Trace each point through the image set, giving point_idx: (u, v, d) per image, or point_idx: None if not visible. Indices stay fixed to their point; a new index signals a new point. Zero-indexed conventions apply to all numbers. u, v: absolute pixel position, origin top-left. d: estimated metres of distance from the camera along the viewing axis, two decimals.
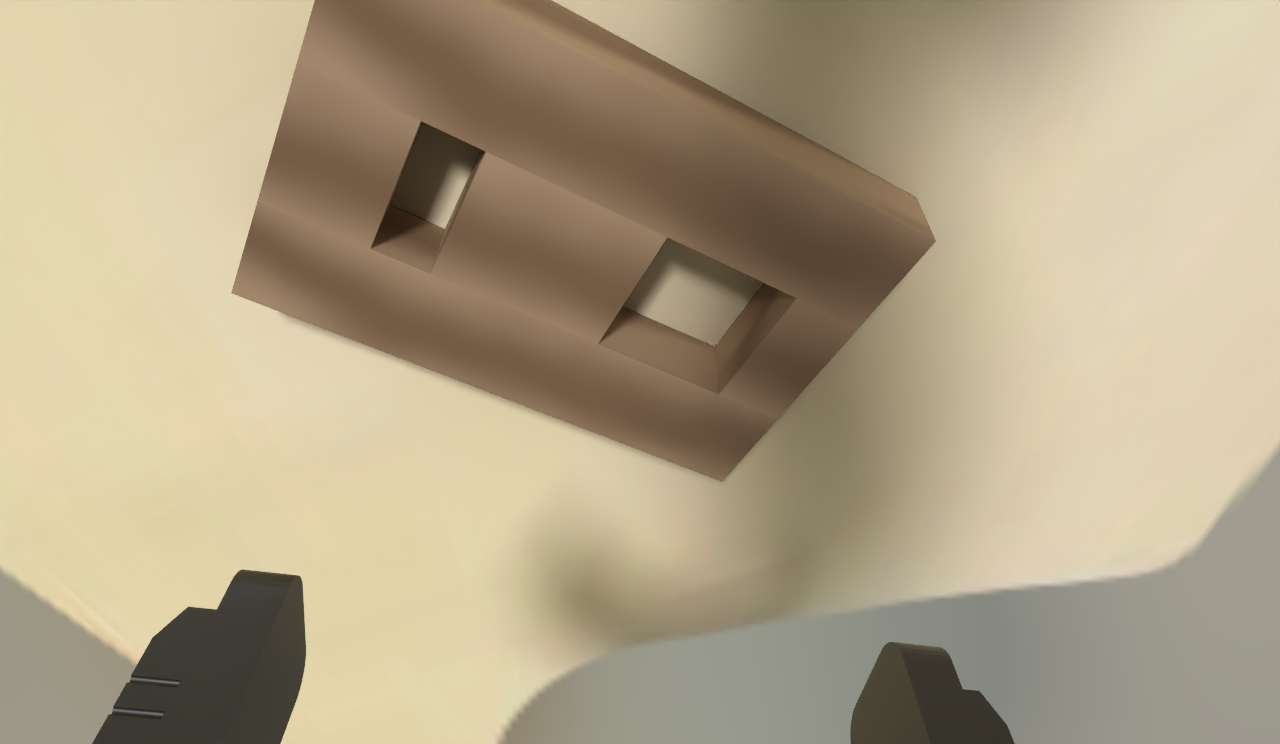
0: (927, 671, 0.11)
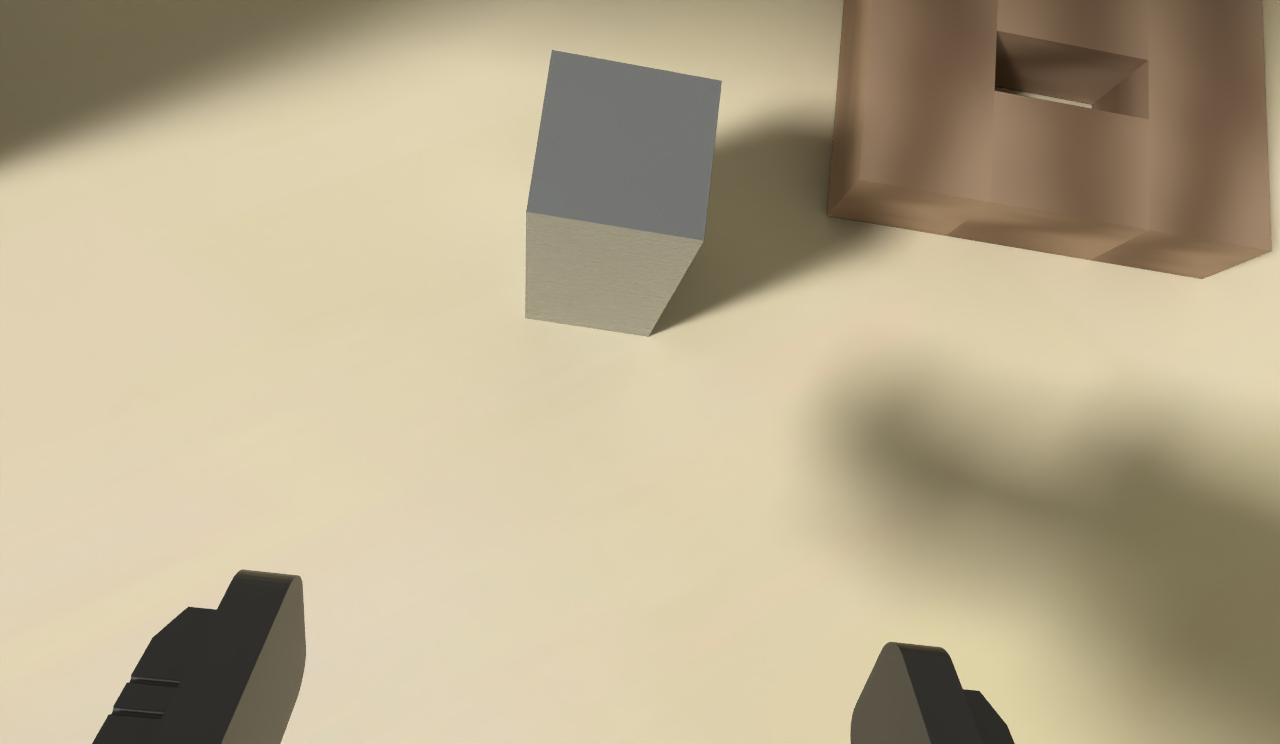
0: (927, 671, 0.11)
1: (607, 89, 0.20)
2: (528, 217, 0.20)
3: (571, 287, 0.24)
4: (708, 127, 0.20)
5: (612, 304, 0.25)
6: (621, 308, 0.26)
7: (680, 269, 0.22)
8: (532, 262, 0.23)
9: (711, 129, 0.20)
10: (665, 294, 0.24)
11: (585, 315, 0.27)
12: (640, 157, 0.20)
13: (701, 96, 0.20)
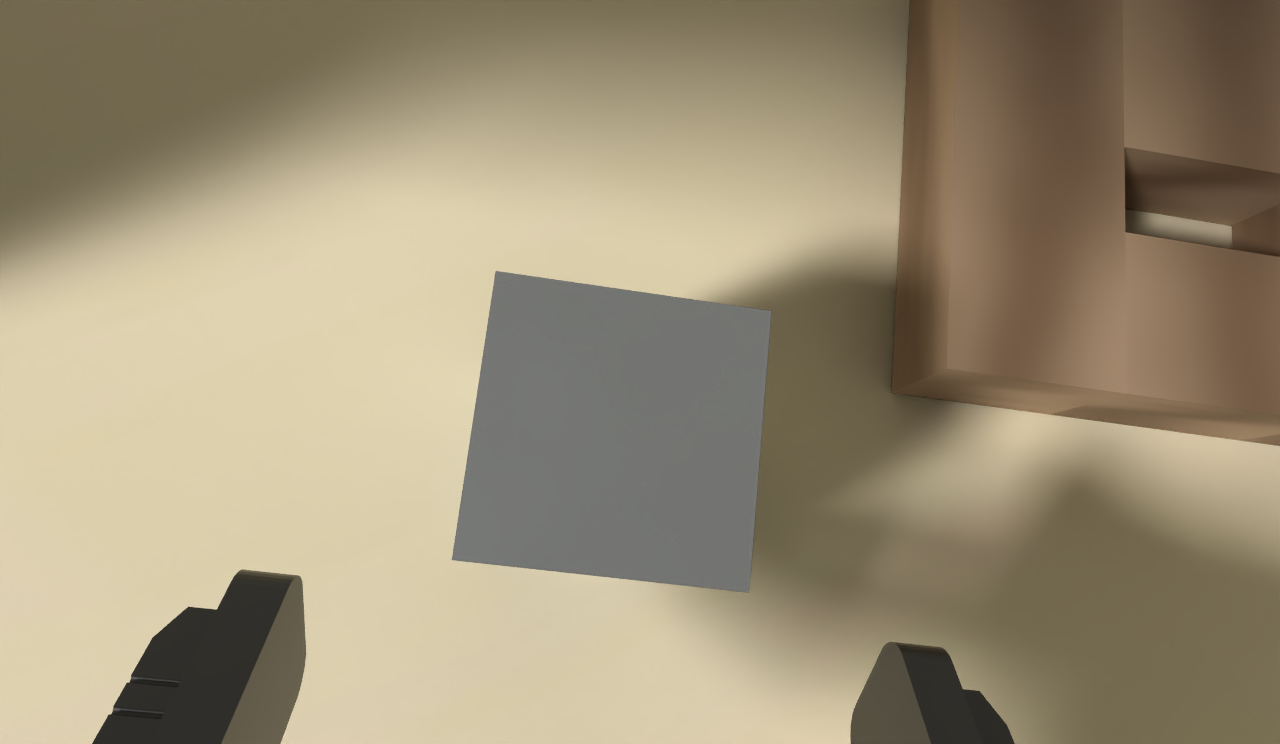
0: (927, 671, 0.11)
1: (587, 334, 0.12)
2: None
3: None
4: (752, 392, 0.13)
5: None
6: None
7: None
8: None
9: (757, 396, 0.12)
10: None
11: None
12: (642, 451, 0.12)
13: (739, 339, 0.13)
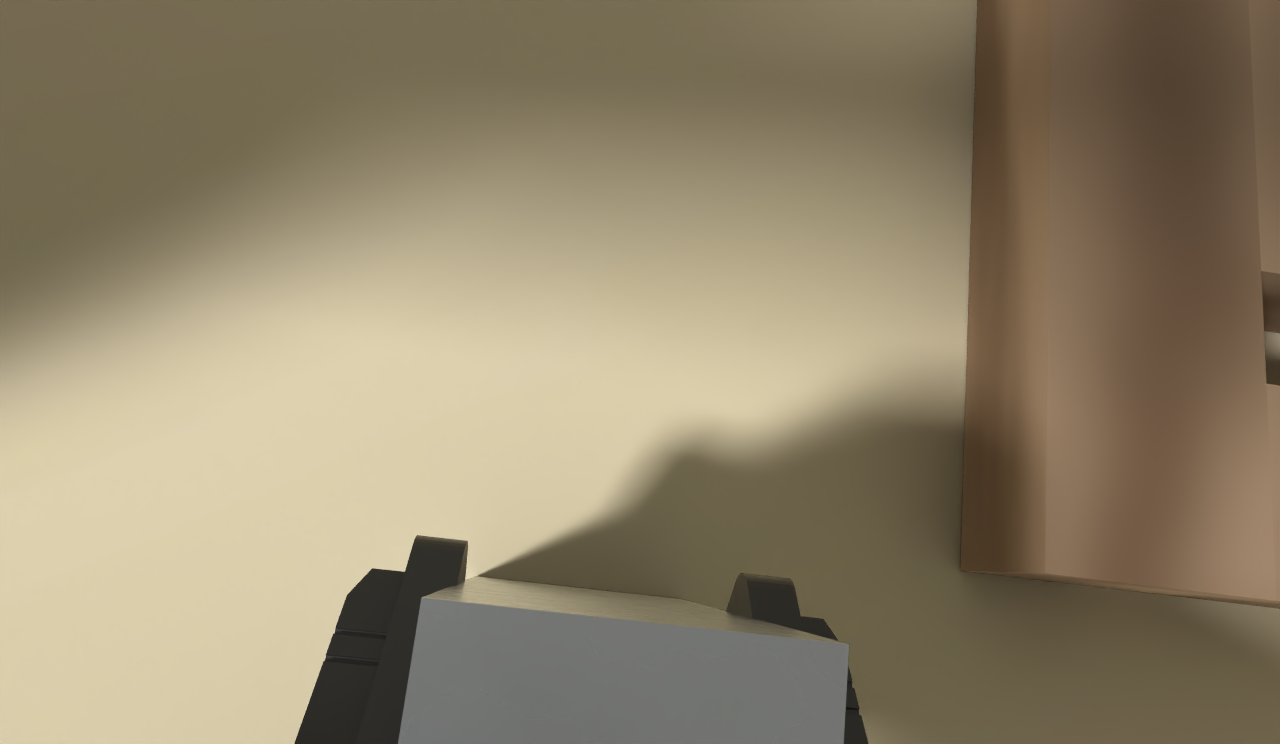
0: (768, 598, 0.12)
1: (564, 698, 0.08)
2: None
3: None
4: None
5: None
6: None
7: None
8: None
9: None
10: None
11: None
12: None
13: (801, 693, 0.08)
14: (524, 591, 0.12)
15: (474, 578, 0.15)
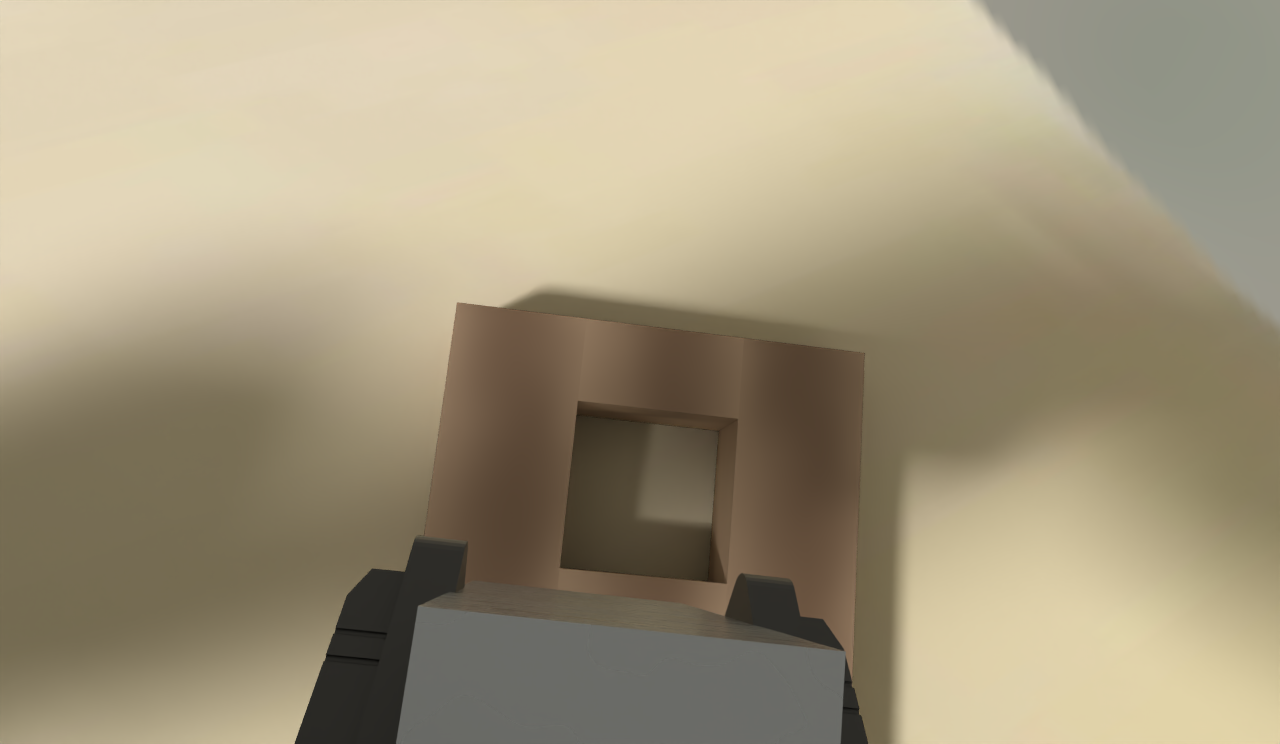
0: (768, 597, 0.12)
1: (561, 706, 0.08)
2: None
3: None
4: None
5: None
6: None
7: None
8: None
9: None
10: None
11: None
12: None
13: (798, 701, 0.08)
14: (522, 597, 0.12)
15: (472, 582, 0.15)
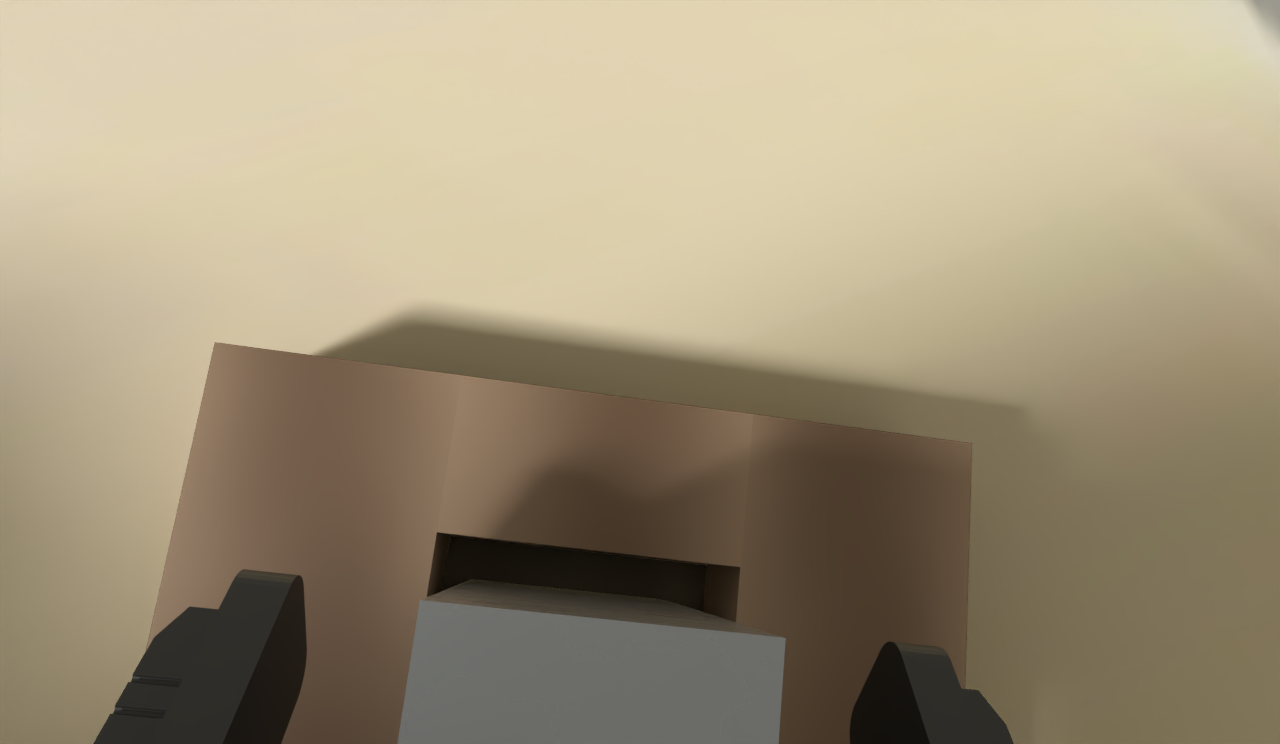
0: (926, 670, 0.11)
1: (541, 685, 0.09)
2: None
3: None
4: None
5: None
6: None
7: None
8: None
9: None
10: None
11: None
12: None
13: (744, 680, 0.10)
14: (512, 593, 0.13)
15: (469, 581, 0.17)
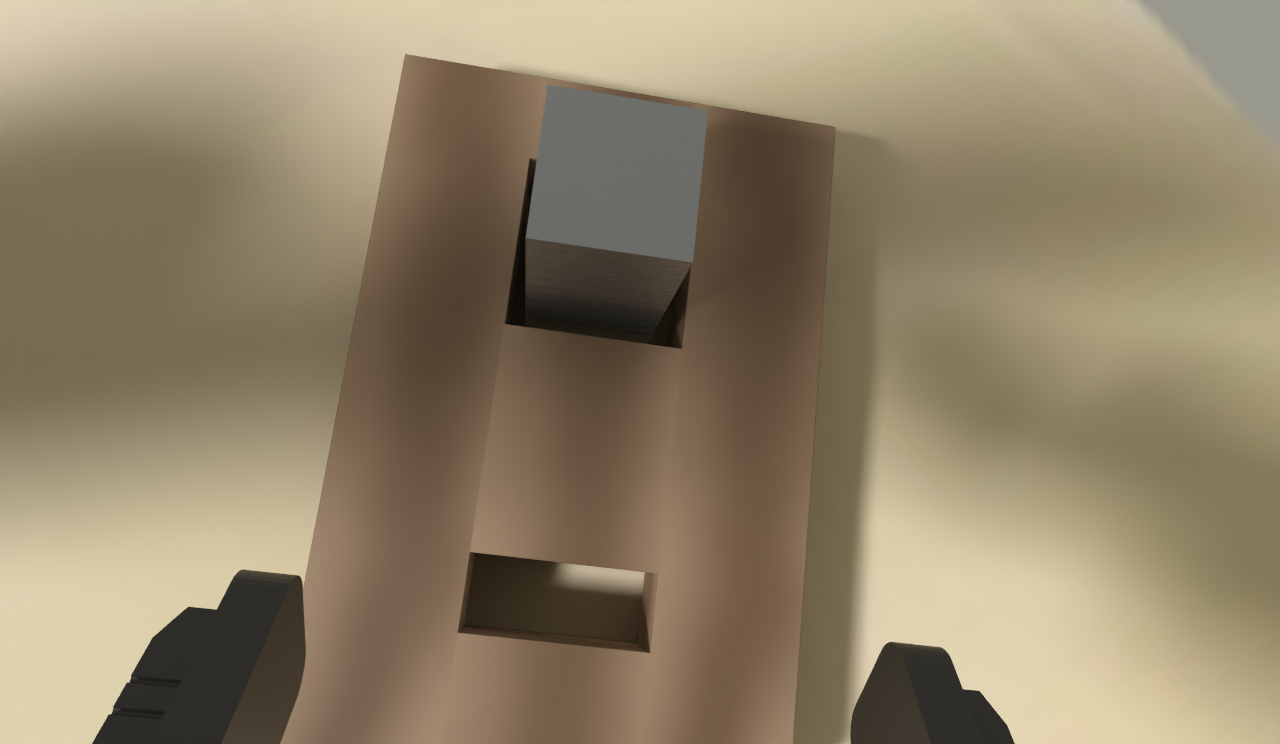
0: (927, 671, 0.11)
1: (600, 120, 0.21)
2: (527, 242, 0.21)
3: (568, 304, 0.26)
4: (696, 155, 0.22)
5: (608, 320, 0.27)
6: (617, 323, 0.27)
7: (671, 288, 0.23)
8: (531, 282, 0.24)
9: (698, 157, 0.22)
10: (658, 310, 0.25)
11: (582, 329, 0.28)
12: (632, 185, 0.21)
13: (689, 125, 0.22)
14: None
15: None
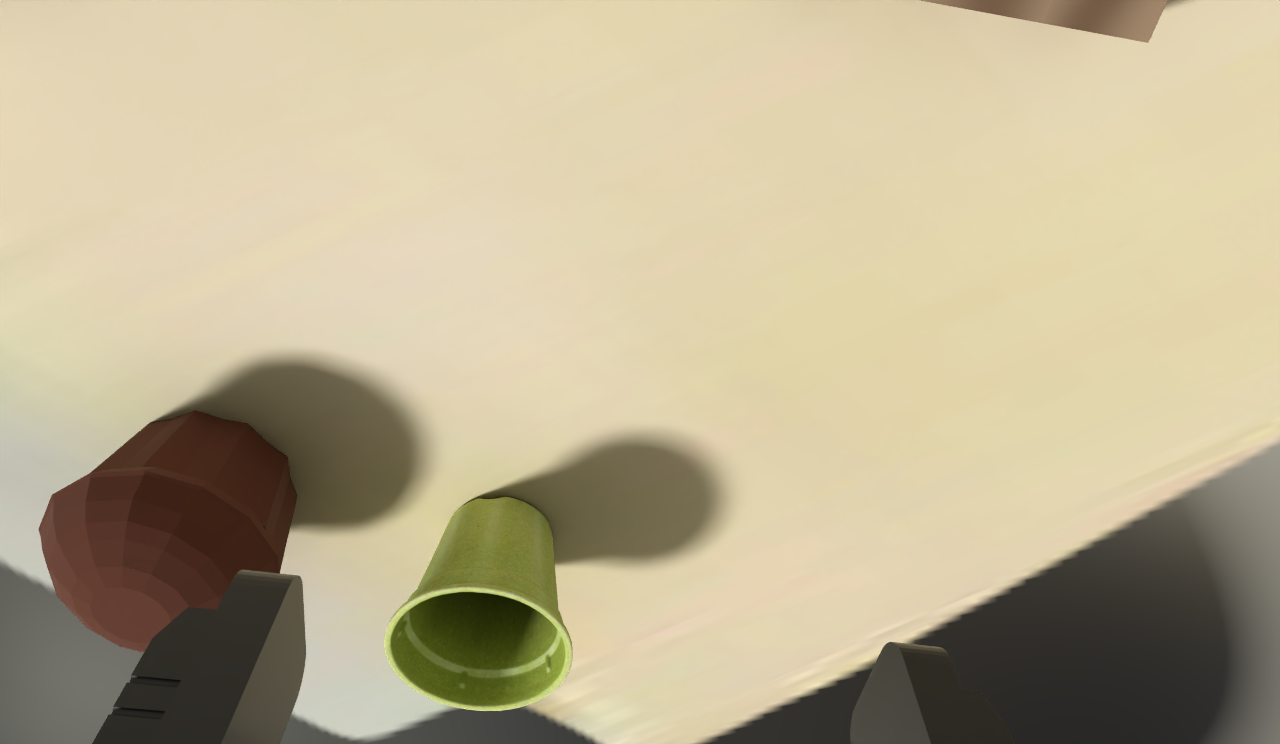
0: (927, 671, 0.11)
1: None
2: None
3: None
4: None
5: None
6: None
7: None
8: None
9: None
10: None
11: None
12: None
13: None
14: None
15: None
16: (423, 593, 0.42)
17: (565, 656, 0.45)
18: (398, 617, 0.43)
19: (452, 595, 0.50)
